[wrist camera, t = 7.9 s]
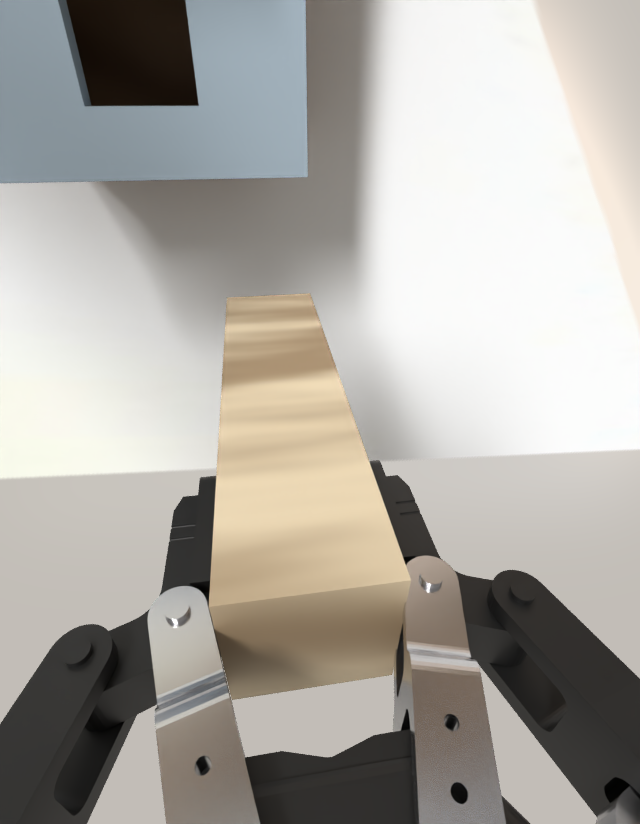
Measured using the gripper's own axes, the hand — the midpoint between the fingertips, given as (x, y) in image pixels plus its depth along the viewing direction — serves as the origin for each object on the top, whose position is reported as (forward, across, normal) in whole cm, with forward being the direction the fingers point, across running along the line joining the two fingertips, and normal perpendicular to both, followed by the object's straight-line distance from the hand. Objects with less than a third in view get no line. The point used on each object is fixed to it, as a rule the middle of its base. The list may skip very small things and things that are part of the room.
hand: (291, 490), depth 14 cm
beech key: (+11, 0, 0) cm, 11 cm away
